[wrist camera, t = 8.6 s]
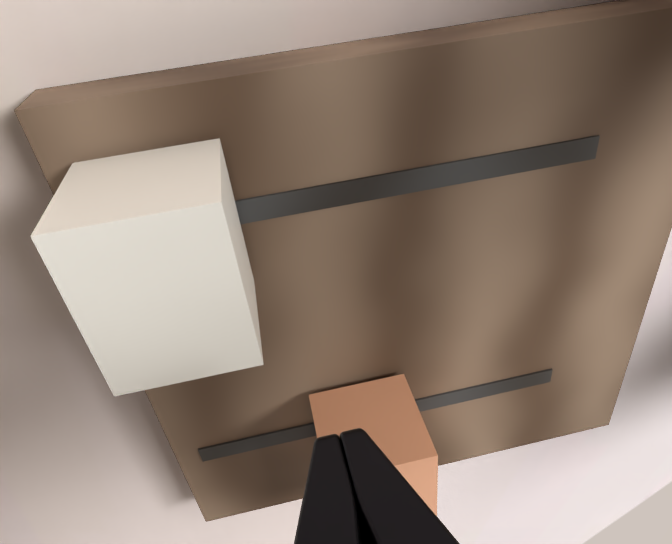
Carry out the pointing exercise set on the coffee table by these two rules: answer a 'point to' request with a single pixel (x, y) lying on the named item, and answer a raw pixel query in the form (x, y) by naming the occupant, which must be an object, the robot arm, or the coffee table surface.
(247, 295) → the block
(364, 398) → the block
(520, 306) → the fader panel
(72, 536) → the coffee table surface
